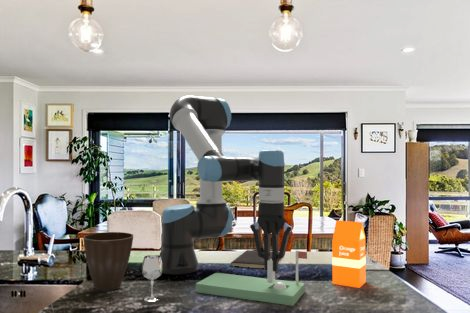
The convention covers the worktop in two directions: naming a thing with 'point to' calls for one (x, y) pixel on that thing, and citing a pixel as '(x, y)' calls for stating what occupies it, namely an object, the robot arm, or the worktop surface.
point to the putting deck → (253, 287)
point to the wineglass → (152, 272)
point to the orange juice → (349, 254)
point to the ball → (279, 286)
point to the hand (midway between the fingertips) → (271, 281)
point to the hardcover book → (249, 260)
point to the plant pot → (107, 258)
